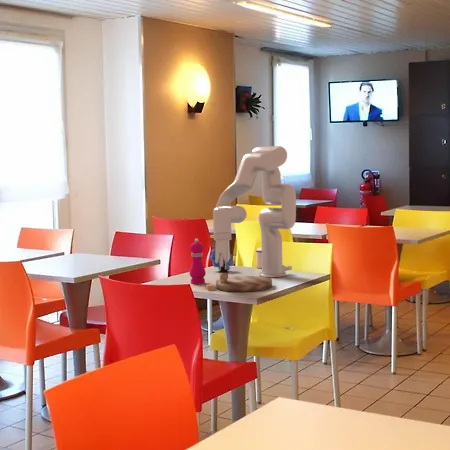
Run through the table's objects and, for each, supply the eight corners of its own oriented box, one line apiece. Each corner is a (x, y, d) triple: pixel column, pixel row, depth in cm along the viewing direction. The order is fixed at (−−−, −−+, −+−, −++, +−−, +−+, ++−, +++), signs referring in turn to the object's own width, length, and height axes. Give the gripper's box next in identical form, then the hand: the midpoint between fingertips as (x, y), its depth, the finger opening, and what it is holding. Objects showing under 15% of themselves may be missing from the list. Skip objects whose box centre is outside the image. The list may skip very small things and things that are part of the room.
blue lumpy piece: (207, 272, 386) (207, 247, 384) (211, 270, 392) (210, 245, 391) (231, 272, 383) (230, 247, 382) (234, 270, 389) (233, 246, 388)
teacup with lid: (273, 268, 390) (273, 245, 389) (255, 269, 392) (254, 245, 391) (275, 265, 402) (275, 242, 401) (257, 265, 403) (257, 242, 402)
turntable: (257, 279, 357) (257, 265, 356) (281, 288, 335) (281, 272, 334) (207, 284, 348) (207, 270, 347) (229, 293, 326) (228, 277, 325)
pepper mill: (203, 284, 352) (202, 239, 350) (188, 284, 353) (186, 239, 351) (207, 281, 359) (206, 237, 357) (192, 281, 360) (190, 237, 358)
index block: (213, 289, 339) (212, 284, 339) (214, 290, 337) (214, 285, 337) (206, 289, 338) (206, 285, 338) (207, 290, 336) (207, 285, 336)
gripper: (216, 234, 347) (218, 276, 349) (210, 238, 333) (212, 281, 334) (233, 234, 346) (235, 275, 348) (228, 238, 331) (229, 281, 333)
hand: (223, 278), depth 341 cm, fingers closed
